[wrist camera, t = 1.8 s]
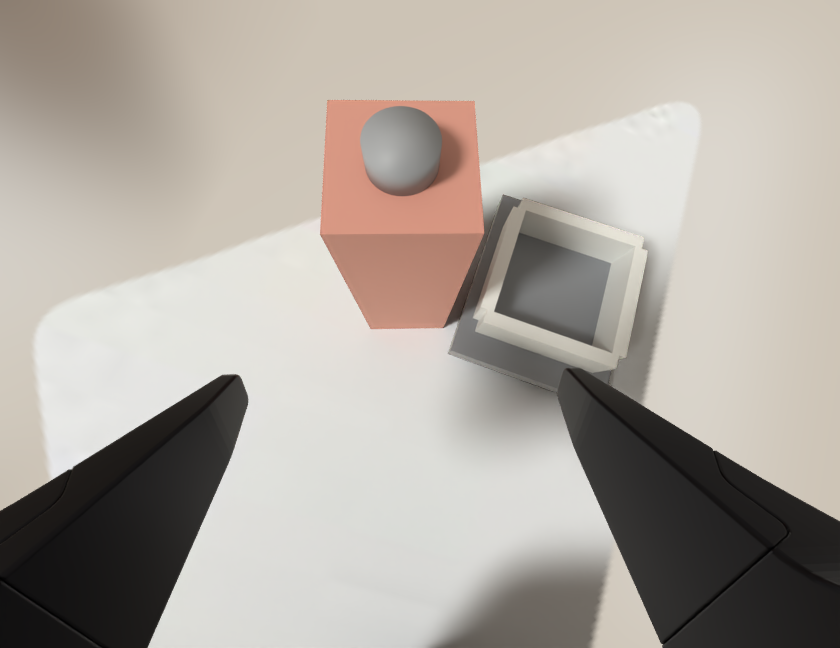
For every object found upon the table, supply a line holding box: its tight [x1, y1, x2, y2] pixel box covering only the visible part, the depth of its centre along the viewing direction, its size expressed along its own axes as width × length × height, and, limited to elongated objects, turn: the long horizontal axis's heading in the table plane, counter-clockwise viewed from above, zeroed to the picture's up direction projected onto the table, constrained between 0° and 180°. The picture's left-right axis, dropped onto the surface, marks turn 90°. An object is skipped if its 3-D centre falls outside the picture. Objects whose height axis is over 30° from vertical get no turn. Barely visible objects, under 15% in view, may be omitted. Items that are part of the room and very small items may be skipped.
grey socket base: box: [448, 195, 648, 393], centre depth 21 cm, size 12×10×4 cm
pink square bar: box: [320, 100, 484, 329], centre depth 16 cm, size 5×5×14 cm
